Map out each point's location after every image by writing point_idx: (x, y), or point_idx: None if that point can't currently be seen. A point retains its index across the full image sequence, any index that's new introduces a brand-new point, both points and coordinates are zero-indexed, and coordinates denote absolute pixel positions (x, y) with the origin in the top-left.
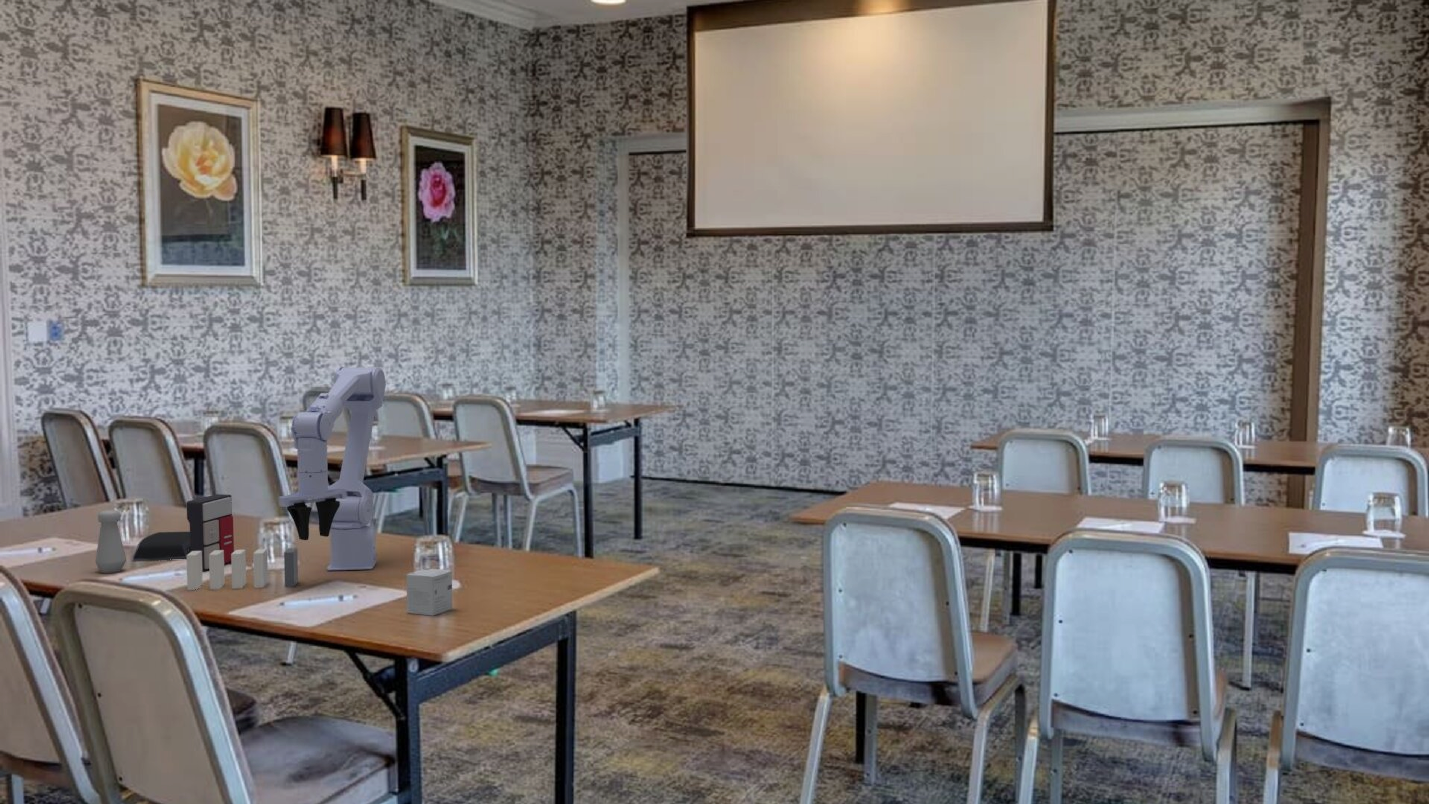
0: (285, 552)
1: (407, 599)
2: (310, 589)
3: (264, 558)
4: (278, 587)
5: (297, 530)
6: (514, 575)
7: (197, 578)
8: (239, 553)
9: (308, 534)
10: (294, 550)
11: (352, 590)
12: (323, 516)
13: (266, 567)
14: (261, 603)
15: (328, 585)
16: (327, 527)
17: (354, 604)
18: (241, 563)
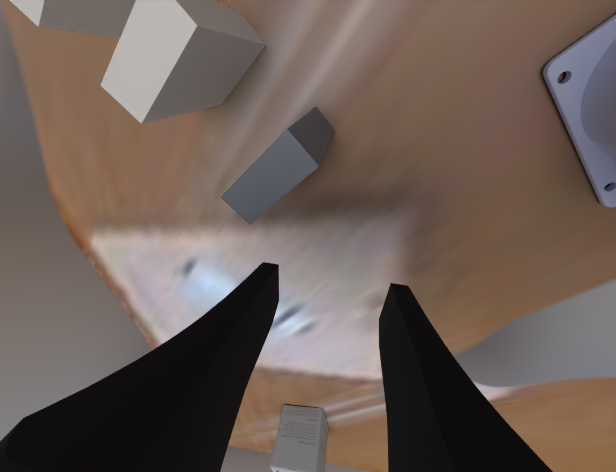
0: (225, 199)
1: (279, 424)
2: (292, 231)
3: (180, 91)
4: (253, 142)
5: (235, 290)
6: (575, 440)
7: None
8: (31, 8)
9: (268, 326)
10: (274, 200)
11: (337, 303)
12: (405, 424)
13: (227, 58)
14: (158, 236)
15: (346, 237)
16: (382, 371)
17: (269, 350)
18: (93, 24)
